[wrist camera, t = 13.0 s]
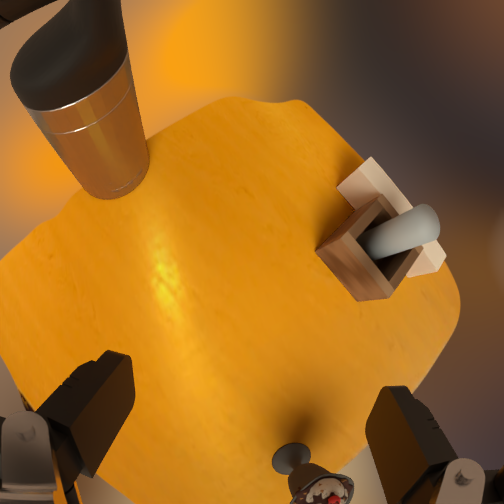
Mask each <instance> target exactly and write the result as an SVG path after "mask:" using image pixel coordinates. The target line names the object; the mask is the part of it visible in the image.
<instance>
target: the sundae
mask: <svg viewBox="0 0 504 504" xmlns="http://www.w3.org/2000/svg"><path fill="white" fill-rule="evenodd" d="M310 458H311V454H310V450H309V449H308V447H307V446H305V445H303V444H300V443H292V444H288V445H285V446H283V447H282V448H280V449H279V450H278V451H277V452H276V453H275V454H274V457H273V459H272V465H273V468H274V469H275V471H276V472H278V473H280V474H284V475H289V477H288V484H289V489H290V492H291V494H292V497H293V499H292V501H291V502H290V504H349V503H350V501H351V499H352V496H353V493H354V483H353V481H352V479H351V478H349V477H347V476H345V475H341V474H334V473H330V472H329V471H327V470H326V469H324V468H322V467H320V466H318V465H316V464H314V463H309V461H310Z"/></svg>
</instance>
